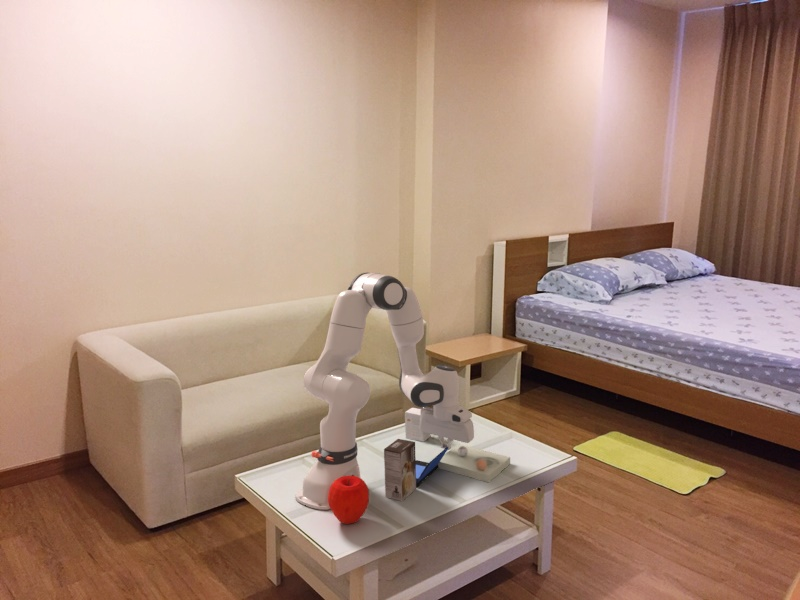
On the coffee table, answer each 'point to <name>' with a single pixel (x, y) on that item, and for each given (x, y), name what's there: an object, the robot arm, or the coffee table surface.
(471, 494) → the coffee table surface
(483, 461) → the terracotta ball
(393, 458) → the coffee box
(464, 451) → the steel ball
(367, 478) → the coffee table surface
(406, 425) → the small box
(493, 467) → the beige flat block
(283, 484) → the coffee table surface
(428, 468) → the handheld game console
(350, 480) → the apple
